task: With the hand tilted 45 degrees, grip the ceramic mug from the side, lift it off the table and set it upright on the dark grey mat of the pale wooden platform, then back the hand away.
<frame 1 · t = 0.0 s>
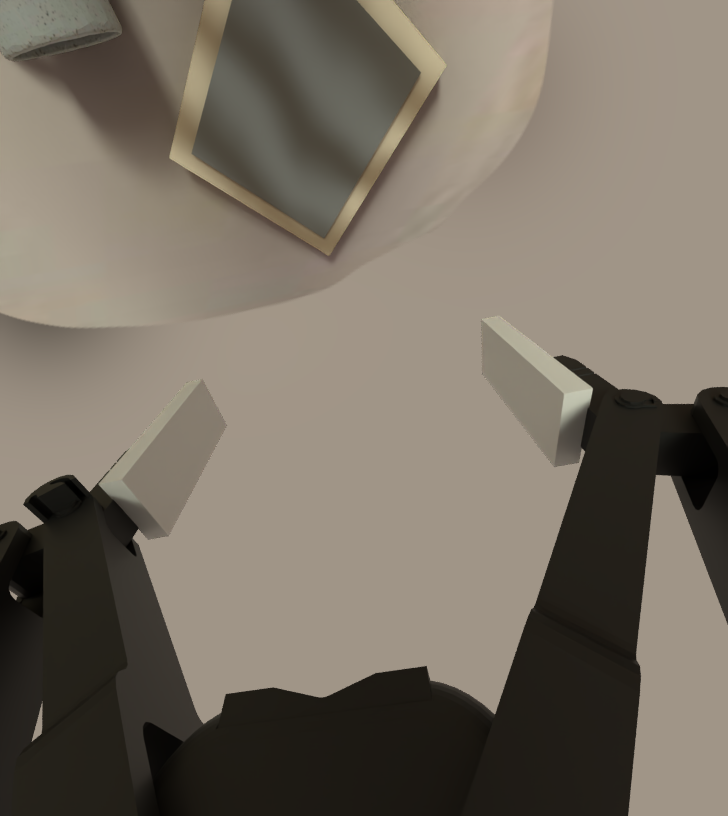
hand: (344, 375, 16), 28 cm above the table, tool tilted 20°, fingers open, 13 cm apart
wooden platform: (301, 107, 29), on the table
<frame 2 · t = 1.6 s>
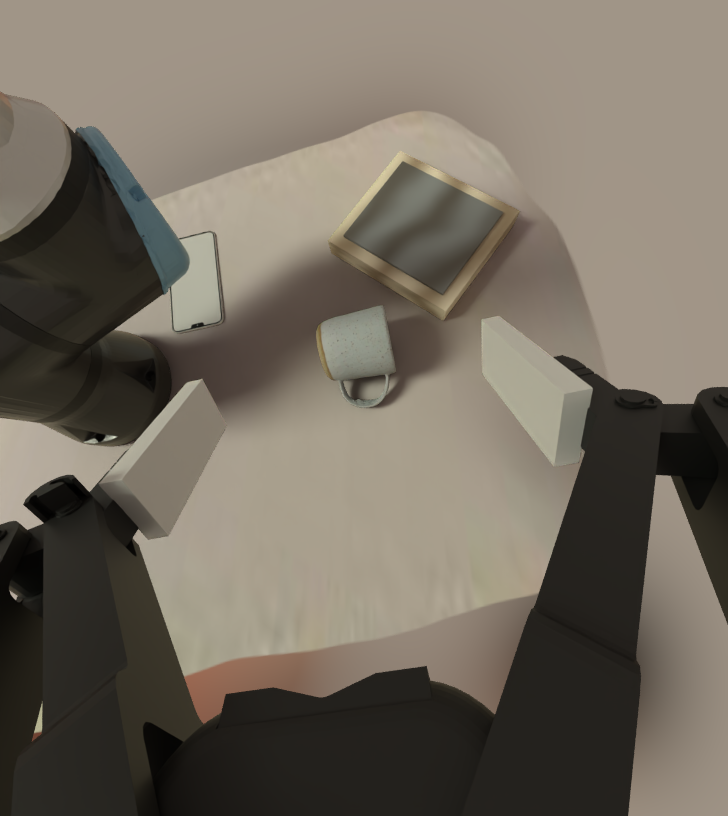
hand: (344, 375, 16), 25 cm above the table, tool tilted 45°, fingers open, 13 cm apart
wooden platform: (420, 239, 44), on the table
ceramic mug: (365, 367, 42), on the table
smartphone: (197, 283, 47), on the table
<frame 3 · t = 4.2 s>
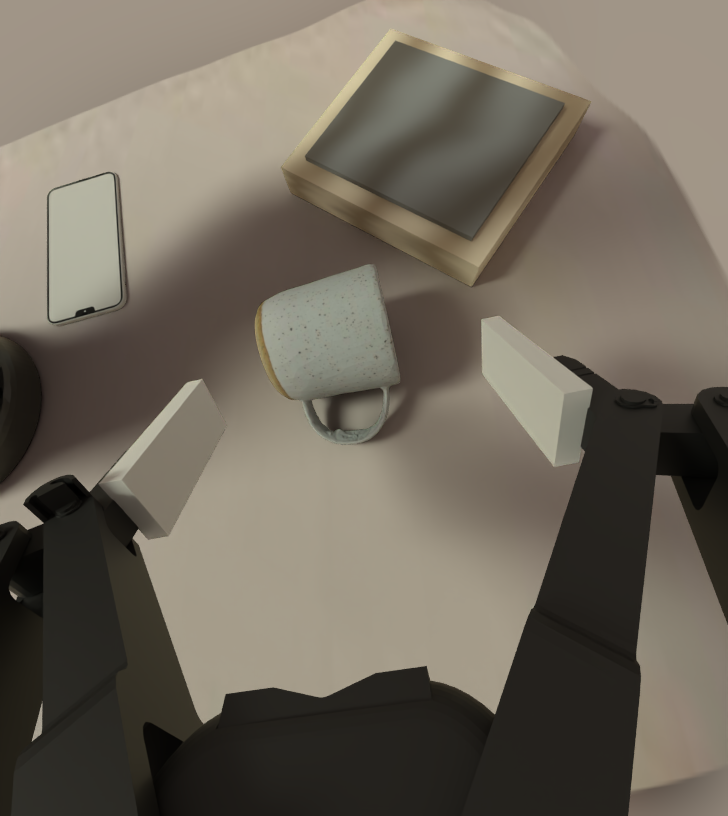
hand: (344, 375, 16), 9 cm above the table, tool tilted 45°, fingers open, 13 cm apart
wooden platform: (427, 164, 28), on the table
ceramic mug: (349, 374, 26), on the table
smartphone: (91, 250, 31), on the table
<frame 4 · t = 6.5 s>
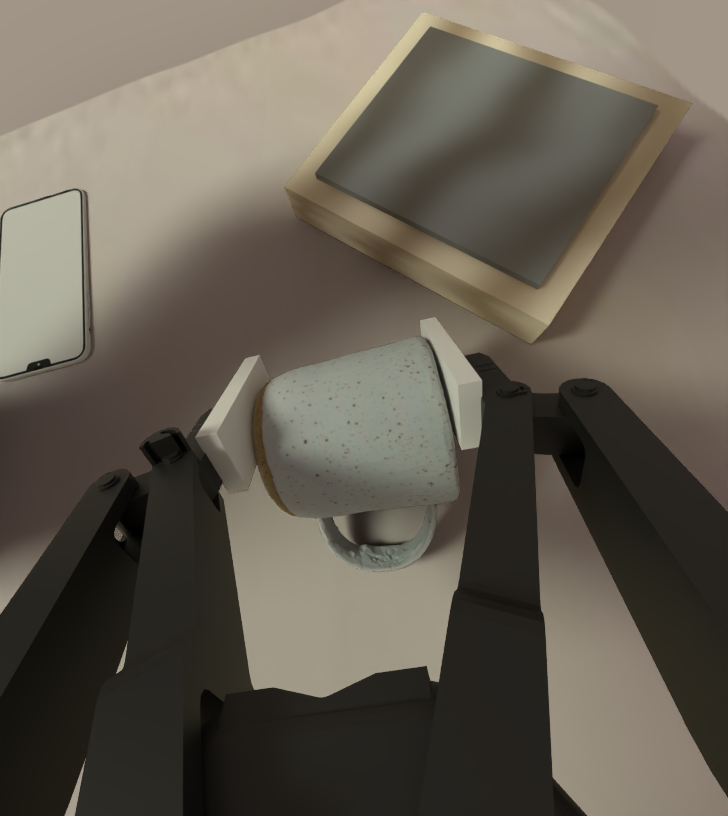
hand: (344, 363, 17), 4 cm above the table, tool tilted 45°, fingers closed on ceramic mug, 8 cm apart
wooden platform: (469, 183, 22), on the table
ceramic mug: (376, 462, 19), on the table, touching gripper
smartphone: (51, 284, 25), on the table
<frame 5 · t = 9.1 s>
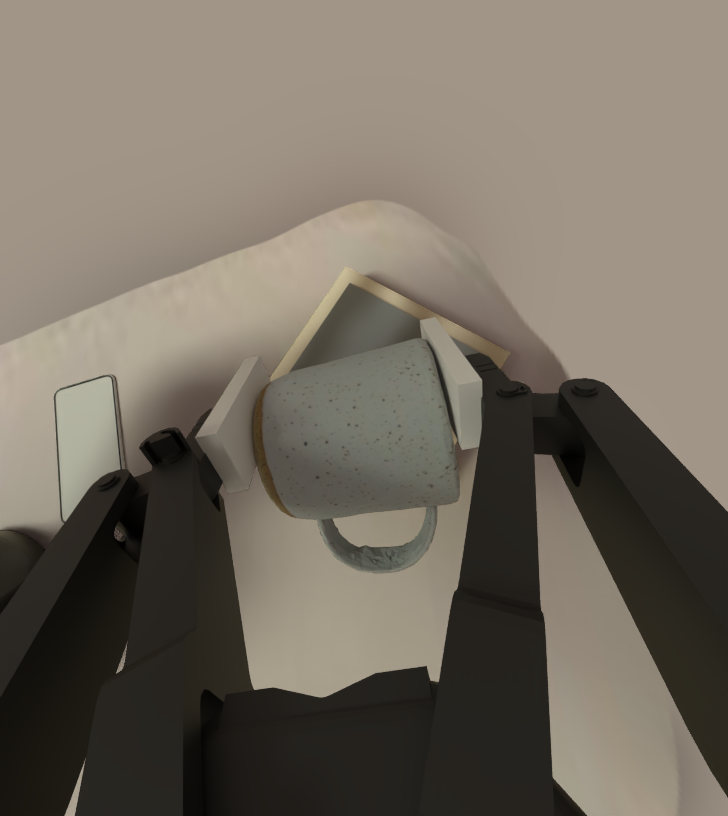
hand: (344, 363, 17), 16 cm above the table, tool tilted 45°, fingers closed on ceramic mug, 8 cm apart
wooden platform: (380, 383, 33), on the table
ceramic mug: (376, 464, 19), point 13 cm above the table, touching gripper
smartphone: (94, 446, 36), on the table
when the fingers open (8 cm above the table, at t = 12.1 s): ceramic mug drops 1 cm, resting on wooden platform.
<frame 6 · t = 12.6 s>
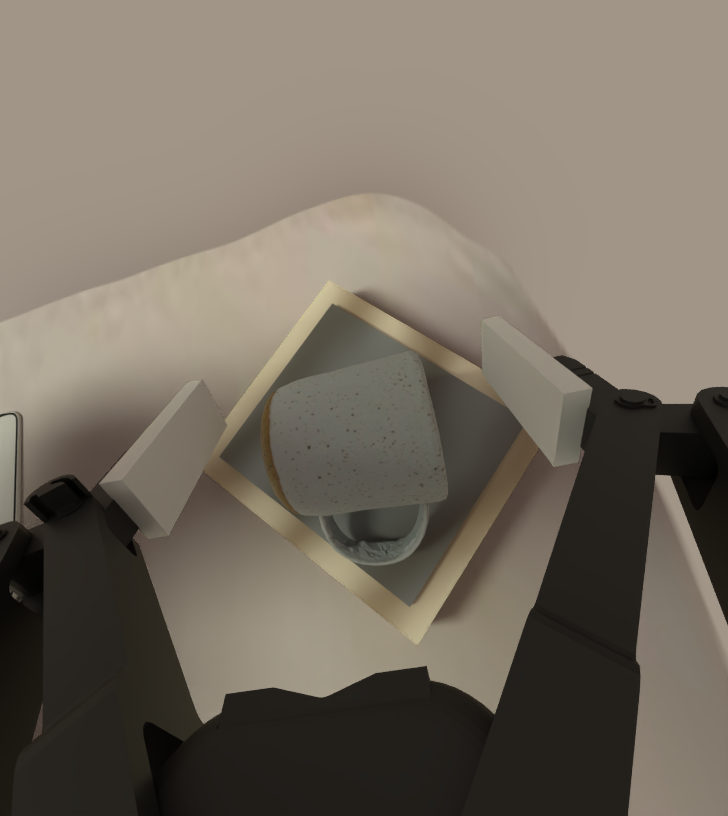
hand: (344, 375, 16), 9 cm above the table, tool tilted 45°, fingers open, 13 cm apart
wooden platform: (371, 443, 24), on the table
ceramic mug: (373, 464, 21), point 3 cm above the table, touching wooden platform
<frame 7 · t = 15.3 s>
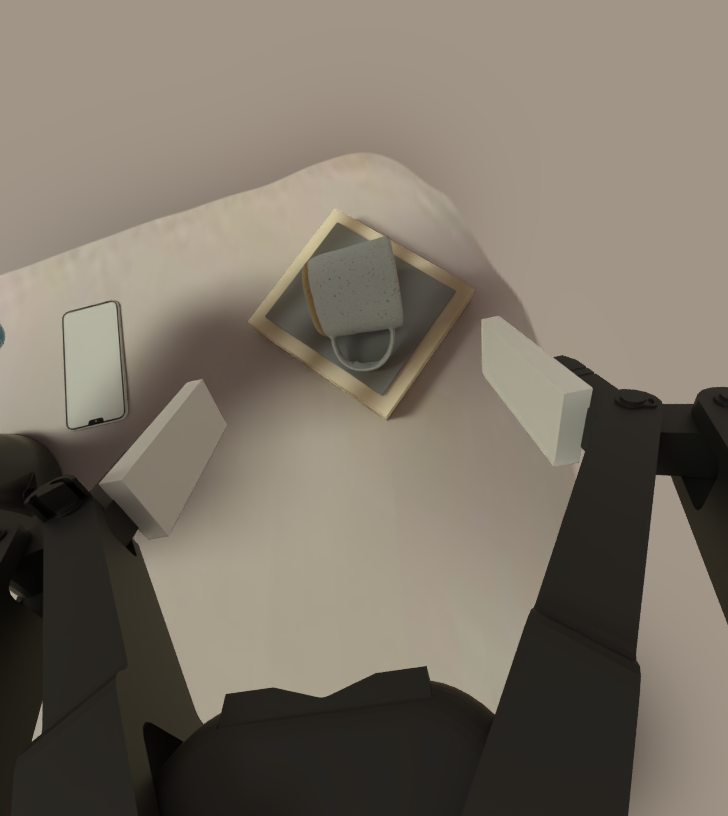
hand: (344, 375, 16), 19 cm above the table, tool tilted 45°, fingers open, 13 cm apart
wooden platform: (361, 316, 37), on the table
ceramic mug: (363, 322, 34), point 3 cm above the table, touching wooden platform
smartphone: (98, 365, 39), on the table
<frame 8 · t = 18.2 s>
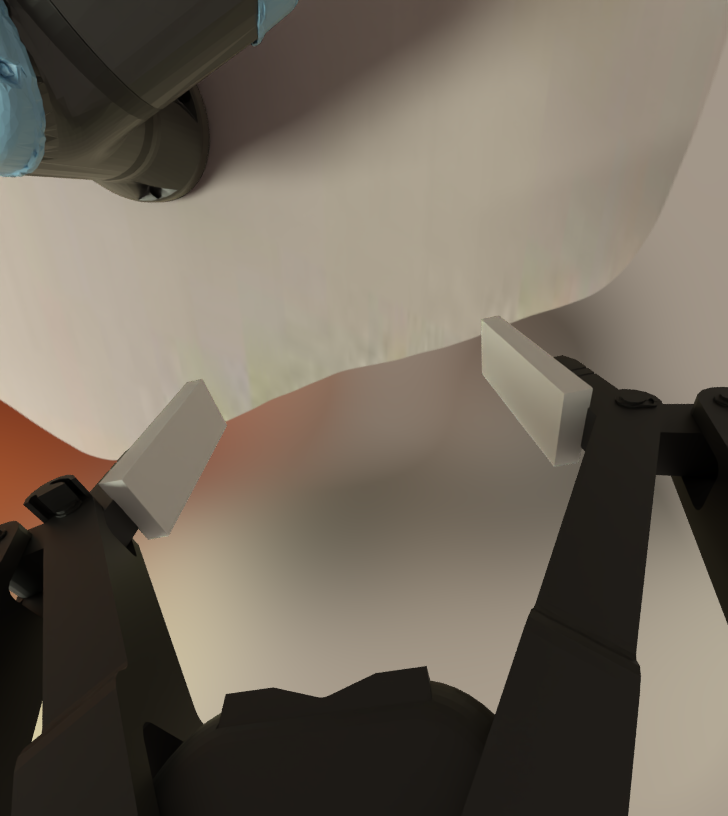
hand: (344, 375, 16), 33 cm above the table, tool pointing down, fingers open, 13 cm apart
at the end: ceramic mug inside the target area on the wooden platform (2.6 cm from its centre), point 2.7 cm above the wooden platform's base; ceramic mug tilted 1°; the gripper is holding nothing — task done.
